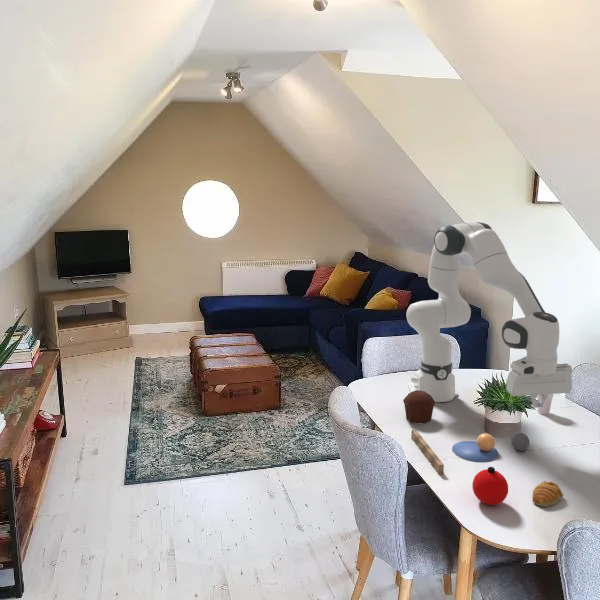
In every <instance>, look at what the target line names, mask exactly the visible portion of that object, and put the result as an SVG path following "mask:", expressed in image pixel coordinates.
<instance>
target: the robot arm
mask: <svg viewBox="0 0 600 600" xmlns="http://www.w3.org/2000/svg"><path fill="white" fill-rule="evenodd" d="M433 239H434V240H433V247H432V251H431V254H430V260H429V266H428V275H427V283H428V287H429V288H430V289H431V290H433V291H434V292H436V293H438V298H437V299H429V300H428V299H427V300H420V301H416V302H414V303H411V304H409V306H408V308H407V310H406V315H405V316H406V320H407V323H408V325H409V327H411V328H413V329H414V330H415V331H416V332H417V333H418V335H419V337H420V339H421V340H420V341H421V345H422V346H421V347H422V353H421V354H422V355H421V356H422V359H421V361H420V364H419V366H420V367H419V369H418V370H417V371H415V372H414V374H413V376H411V380H410V381H411V382H410V381H409V382H408V383H407V386H408V391H409V393H411V392H413V391H418V390H419V391H425V392H426V393H428V394H430V395H431V396H432V398H433V399H434V401H435V403H445V402H450V401H452V400H454V398H455V397H458V396H459V392H458V391H456V377H455V375H454V373H452V371H453V361H452V356H453V355H452V352H453V350H452V349H453V345H452V342H451V341H450V340H449V339H448V338H446V337H445V336H442V335H441V329H443V328H455V327H459V326H462V325H466V324H468V322H469V321H470V319H471V314H472V309H471V306H470V305H469V303H468V302H467V301H466V300H465V299H464V298H463V297H462V295H461V293H460V290H459V278H460V270H461V262H462V261H461V259H462V256H464V255H465V256H466V255H468V254H469V255H470V256H471V259H472V262H473V264H474V265H473V266H474V267H475V270H476V272H477V275H478V277H479V279H480V280H481V281H482V282H483V283H484V284H486V285H487V286H490V287H492V288H495V289H499V290H503V291H505V292H507V293H509V294H510V295H511V296H512V297H514V298H515V300H516V302H517V304H518V306H519V308H520V309H521V311H522V313H523V315H524V317H518V318H513V319H510V320H507V321H506V322H504V324H503V326H502V328H501V338H502V340H503V343H504V344H505V345H506V346H507V347H509V348H511V349H514V350H525V351H526V356H523V357H522V358H520V359H517V360H514V361H512V362H510V369H511V370H510V372H509V373H508V375H507V378H506V379H507V381H506V391H507V393H508V394H510V395H511V396H512V397H522V396H529V398H530V400H531V402H532V403H531V404H532V405H531V406H532V408H534V409H538V407H544V402H545V401H546V399H547V398H548V394H553V395H554V394H555V395H557V394H569V393H570V392H571V391H572V389H573V383H572V382H573V378H572V375H573V374H572V373H573V367H572V366H571V365H570V364H569V363H558V357H559V356H558V352H557V351H558V347H559V343H560V323H559V320H558V318H557V317H556V315H554V314H552V313H549V312H546V310H544V308H543V306H542V305H541V302H540V301H539V300H538V297H537V296H536V294H535V292H534V290H533V288H532V287H531V285H530V283H529V282H528V280H527V279H526V276H524V275H523V273H521V272H520V271H519V270H518V269H517V267H516V266H515V264H514V263H513V262H512V260H511V258H510V257H509V254H508V252H507V249H506V248H505V245H504V244H503V242H502V240H501V238H500V237H499V235H498V234H497V233H496V232H495V230H493V228H492V227H491V226H490V225H489V224H487V223H485V222H480V221H479V222H478V221H477V222H461V223H456V224H447V225H444V226H441V227H439V228H438V229H437V230H436V232H435V234H434V238H433ZM537 395H541V398H540V399H539V400H537V399H536V398H537Z"/></svg>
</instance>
